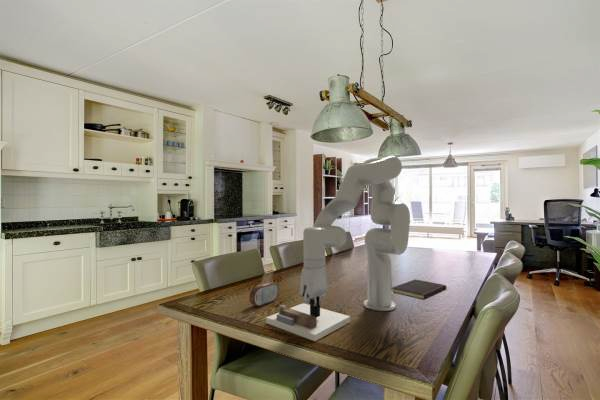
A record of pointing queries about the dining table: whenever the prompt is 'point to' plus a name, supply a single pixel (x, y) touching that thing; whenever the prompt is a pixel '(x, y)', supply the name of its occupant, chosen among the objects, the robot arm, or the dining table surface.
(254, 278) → the dining table surface
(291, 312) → the folding leg
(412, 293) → the hardcover book
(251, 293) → the tin
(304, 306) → the white flat square panel
